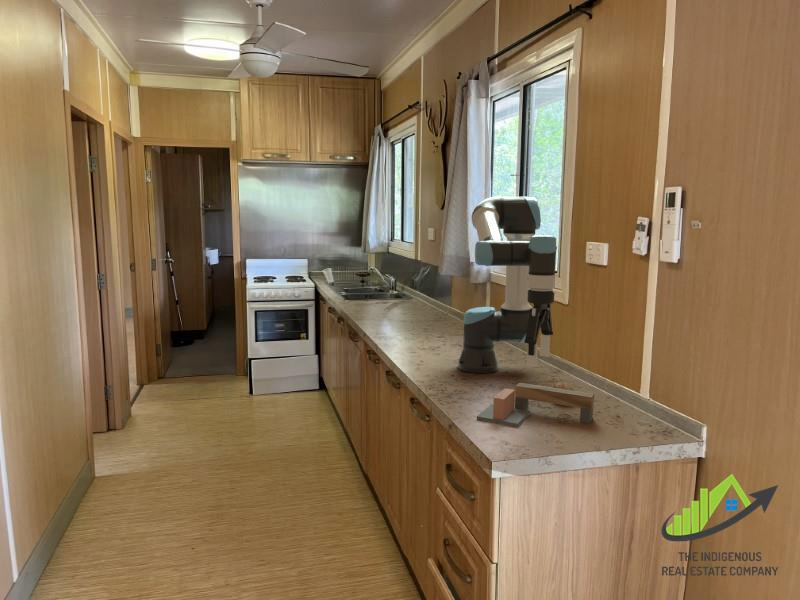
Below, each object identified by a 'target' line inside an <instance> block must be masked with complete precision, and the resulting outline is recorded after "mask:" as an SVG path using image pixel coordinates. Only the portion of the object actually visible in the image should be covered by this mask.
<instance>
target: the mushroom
mask: <svg viewBox="0 0 800 600" xmlns="http://www.w3.org/2000/svg"><path fill="white" fill-rule="evenodd" d="M553 388H559V389H565V390H572V391H575V390H574V388H573V387H572V386H571V385H570V384H568V383H566V382H564V381H563V382H562V381H560V382H556V383H555V384H554V385H553Z"/></svg>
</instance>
